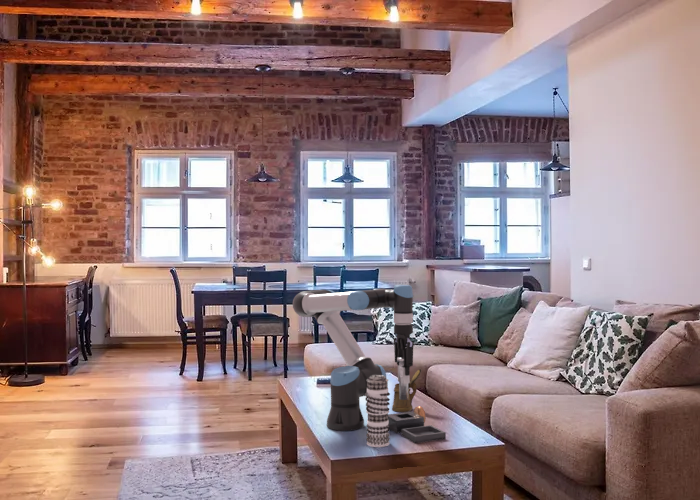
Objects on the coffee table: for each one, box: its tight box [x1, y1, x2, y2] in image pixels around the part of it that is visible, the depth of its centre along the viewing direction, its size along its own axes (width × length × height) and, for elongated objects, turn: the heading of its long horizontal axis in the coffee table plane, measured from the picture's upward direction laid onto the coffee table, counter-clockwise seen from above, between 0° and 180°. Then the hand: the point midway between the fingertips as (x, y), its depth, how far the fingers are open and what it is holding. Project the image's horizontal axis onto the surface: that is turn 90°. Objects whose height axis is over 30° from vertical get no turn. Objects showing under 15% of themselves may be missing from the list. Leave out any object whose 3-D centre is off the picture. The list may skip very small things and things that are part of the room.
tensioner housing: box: [388, 405, 427, 434], centre depth 260 cm, size 15×10×8 cm
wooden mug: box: [391, 368, 423, 413], centre depth 290 cm, size 9×14×18 cm, turn 96°
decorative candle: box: [365, 375, 391, 448], centre depth 240 cm, size 9×9×25 cm
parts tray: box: [401, 424, 447, 444], centre depth 247 cm, size 13×11×2 cm
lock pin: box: [396, 357, 408, 400], centre depth 260 cm, size 5×5×16 cm
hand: (403, 382), depth 260 cm, fingers closed on lock pin, 3 cm apart
